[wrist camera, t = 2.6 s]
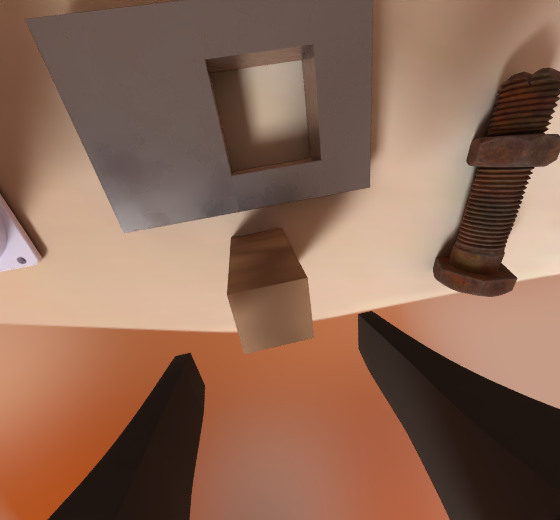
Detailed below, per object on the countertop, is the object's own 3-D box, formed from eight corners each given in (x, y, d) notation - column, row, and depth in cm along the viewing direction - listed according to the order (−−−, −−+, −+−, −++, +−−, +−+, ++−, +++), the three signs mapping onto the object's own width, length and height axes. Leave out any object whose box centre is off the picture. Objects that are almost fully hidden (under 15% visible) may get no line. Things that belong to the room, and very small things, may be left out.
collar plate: (138, 221, 17) (124, 233, 15) (62, 41, 13) (25, 19, 11) (353, 182, 18) (369, 187, 16) (351, 4, 14) (373, -23, 12)
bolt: (489, 88, 19) (442, 263, 25) (466, 78, 16) (420, 278, 22) (608, 68, 15) (517, 284, 21) (606, 50, 12) (502, 306, 18)
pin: (242, 281, 21) (244, 353, 13) (230, 237, 19) (227, 294, 12) (288, 271, 21) (314, 337, 14) (281, 228, 19) (307, 277, 12)
